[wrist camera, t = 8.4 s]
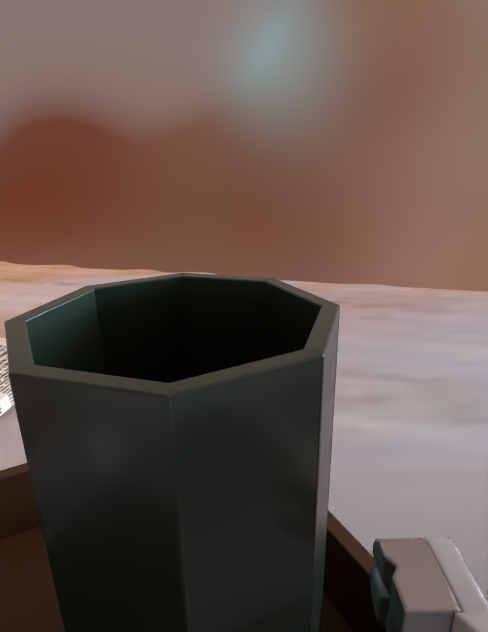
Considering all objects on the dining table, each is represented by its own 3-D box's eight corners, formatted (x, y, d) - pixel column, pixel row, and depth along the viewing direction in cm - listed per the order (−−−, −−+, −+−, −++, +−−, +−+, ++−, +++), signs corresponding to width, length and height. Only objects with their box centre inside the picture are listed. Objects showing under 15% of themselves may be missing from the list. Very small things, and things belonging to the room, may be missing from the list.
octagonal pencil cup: (246, 550, 18) (241, 264, 14) (362, 726, 12) (407, 332, 8) (72, 631, 15) (2, 297, 11) (120, 911, 9) (12, 437, 5)
